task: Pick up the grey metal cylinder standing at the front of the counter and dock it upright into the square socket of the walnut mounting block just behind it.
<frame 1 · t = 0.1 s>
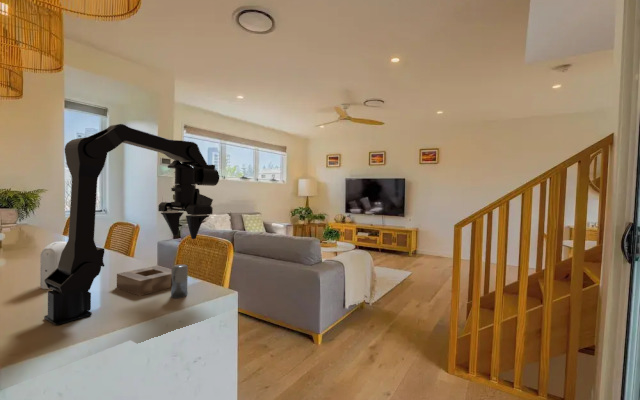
hand: (184, 237, 90), 15 cm above the table, tool pointing down, fingers open, 9 cm apart
grey metal cylinder: (179, 295, 82), on the table
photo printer: (56, 284, 89), on the table
socket block: (149, 286, 89), on the table
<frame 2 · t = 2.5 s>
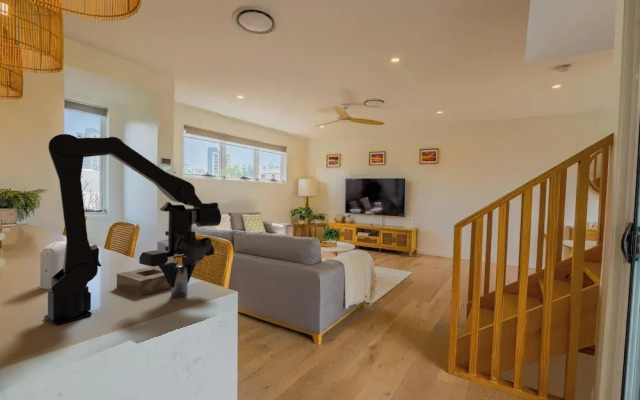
hand: (179, 285, 82), 3 cm above the table, tool pointing down, fingers closed on grey metal cylinder, 4 cm apart
grey metal cylinder: (179, 295, 82), on the table, touching gripper
everything else where it was.
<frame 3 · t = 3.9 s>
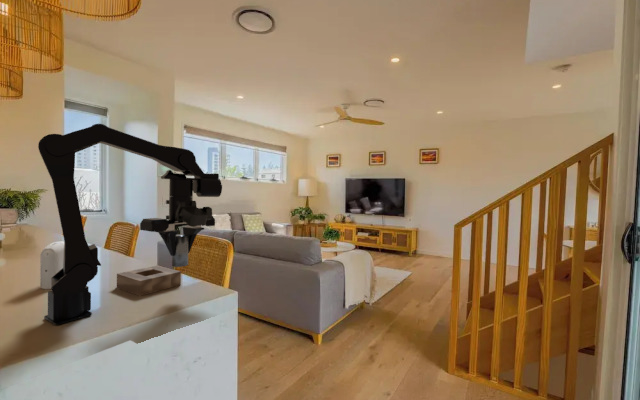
hand: (180, 254, 82), 11 cm above the table, tool pointing down, fingers closed on grey metal cylinder, 4 cm apart
grey metal cylinder: (180, 265, 82), point 8 cm above the table, touching gripper
everything else where it was.
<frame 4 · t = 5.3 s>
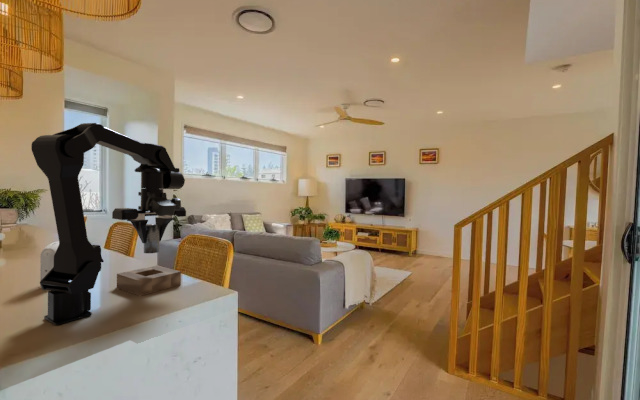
hand: (151, 242, 88), 13 cm above the table, tool pointing down, fingers closed on grey metal cylinder, 4 cm apart
grey metal cylinder: (151, 251, 89), point 10 cm above the table, touching gripper
everything else where it was.
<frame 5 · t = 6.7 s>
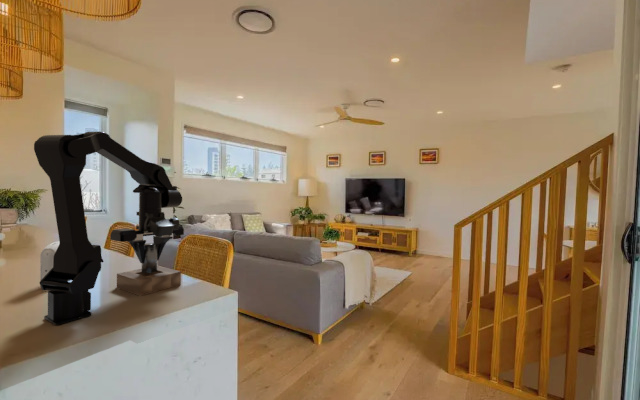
hand: (149, 261, 89), 7 cm above the table, tool pointing down, fingers closed on grey metal cylinder, 4 cm apart
grey metal cylinder: (149, 271, 89), point 4 cm above the table, touching gripper
everything else where it was.
when the fingers open (5 cm above the table, at t = 8.0 s): grey metal cylinder drops 2 cm, resting in socket block.
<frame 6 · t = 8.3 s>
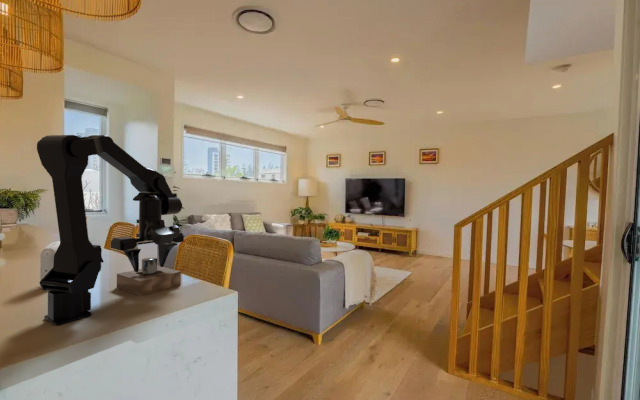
hand: (149, 269, 89), 5 cm above the table, tool pointing down, fingers open, 7 cm apart
grey metal cylinder: (149, 286, 89), resting in socket block
everything else where it was.
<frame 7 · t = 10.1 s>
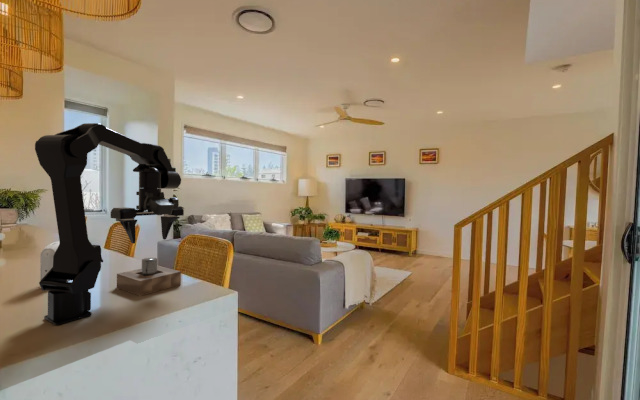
hand: (149, 241, 89), 13 cm above the table, tool pointing down, fingers open, 9 cm apart
nothing on the table moved.
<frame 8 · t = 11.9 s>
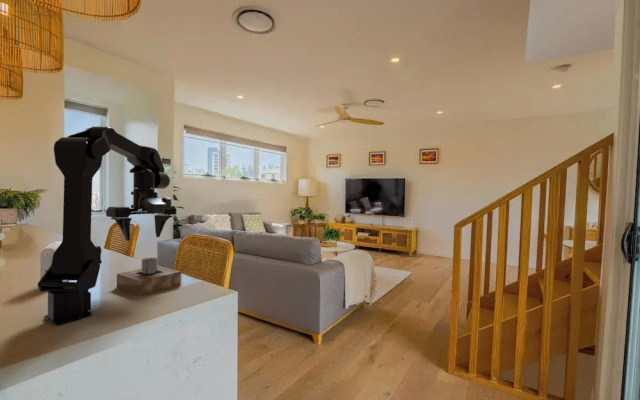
hand: (143, 238, 94), 13 cm above the table, tool pointing down, fingers open, 9 cm apart
nothing on the table moved.
at the end: grey metal cylinder 0.1 cm off-centre on the socket block, point 0.0 cm above the socket block's base; grey metal cylinder tilted 0°; the gripper is holding nothing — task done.
